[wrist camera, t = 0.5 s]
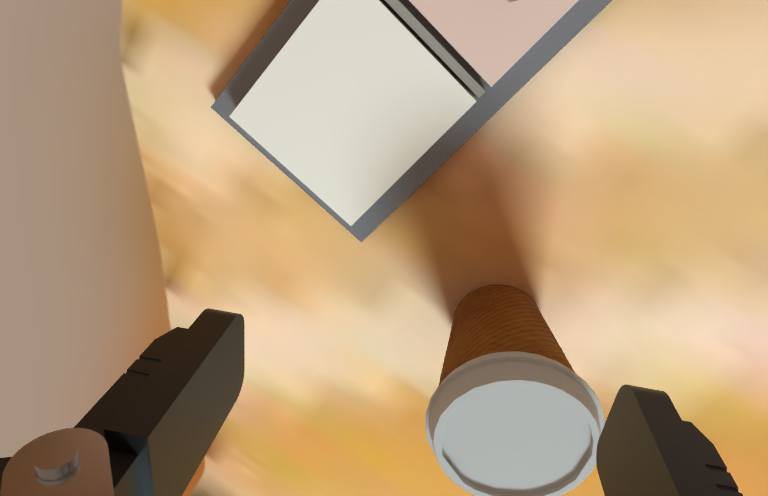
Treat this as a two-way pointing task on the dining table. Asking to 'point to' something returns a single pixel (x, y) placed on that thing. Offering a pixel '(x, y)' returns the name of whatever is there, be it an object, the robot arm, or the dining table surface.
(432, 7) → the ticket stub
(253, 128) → the ticket base
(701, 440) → the robot arm
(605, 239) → the dining table surface
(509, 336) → the disposable coffee cup
